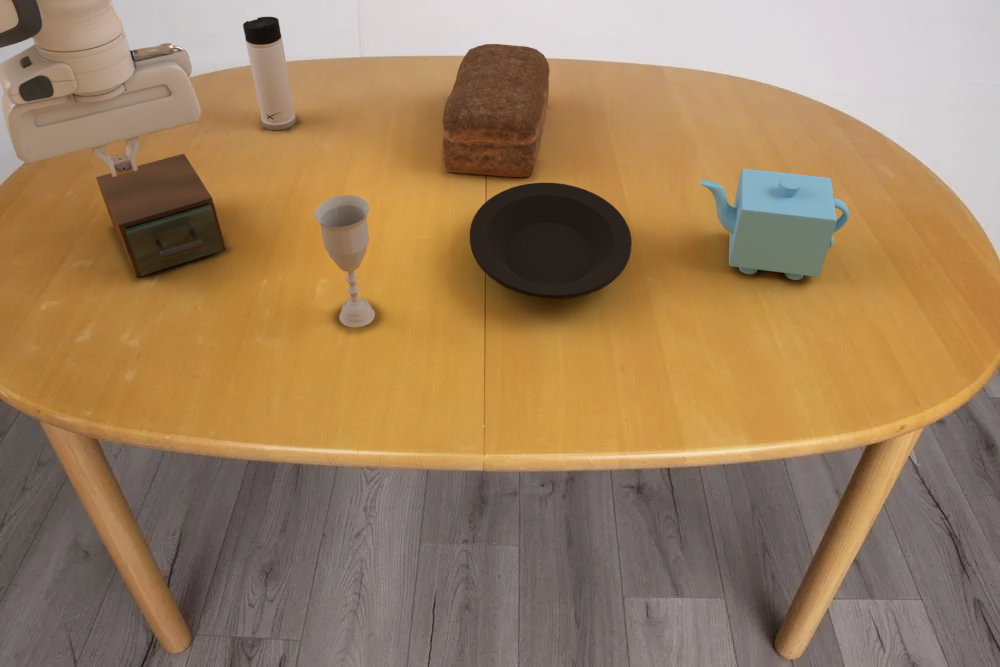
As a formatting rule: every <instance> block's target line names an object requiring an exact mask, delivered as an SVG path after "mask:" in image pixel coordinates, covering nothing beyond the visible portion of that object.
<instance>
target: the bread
mask: <svg viewBox="0 0 1000 667" xmlns="http://www.w3.org/2000/svg"><path fill="white" fill-rule="evenodd" d="M550 71H551V70H550V64H549V61H548V60H547V58H546V56H545V55H544V54H543V53H542V52H541V51H539V50H538V49H536V48H533V47H530V46H526V45H525V46H524V45H514V44H513V45H512V44H503V43H485V44H481V45H477V46H475V47H472V48H470V49H469V50H468V51H467V52H466V54H465V55H464V56H463V57H462V60H461V62H460V63H459V67H458V70H457V73H456V76H455V82H454V83H453V88H452V90H451V92H450V94H449V96H448V97H447V99H446V102H445V105H444V109H443V114H442V126H443V137H442V138H443V139H442V150H441V152H442V163H443V164H444V166H445V169H446V171H447V172H451V173H458V174H469V175H470V174H471V175H483V176H494V177H507V178H526V177H532V175H533V173H534V171H535V167H536V164H537V159H538V154H539V150H540V146H541V141H542V140H541V139H542V135H543V131H544V125H545V122H546V121H545V120H546V114H547V109H548V103H549V97H550V96H549V95H550V94H549V93H550V78H549V77H550Z"/></svg>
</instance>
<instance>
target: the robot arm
mask: <svg viewBox="0 0 1000 667" xmlns="http://www.w3.org/2000/svg"><path fill="white" fill-rule="evenodd" d="M29 39H33V43H34V44H32V45H31V46H29V47H27V48H26V49H24V50H22V51H21V52H19V53H17V54H15V55H14V56H12V57H10V58H8V59H6V60H4V61H2V62H1V63H0V86H1V88H2V90H3V93H2V96H1V108H2V114H3V118H4V122H5V126H6V129H7V133H8V136H9V139H10V143H11V145H12V148H13V151H14V153H15V156H16V159H18V160H20V161H22V162H24V163H25V164H34V163H38V162H42V161H46V160H47V161H48V160H50V159H54V158H59V157H62V156H66V155H70V154H75V153H78V152H82V151H86V150H90V149H91V150H92V152H93V154H94V156H95V157H96V158H97V159H99V160H100V161H101V162H102V163H104V165H106V166H107V167H108V170H109V172H110V173H111V174H112V177H116V176H119V175H123V174H127V173H130V172H134V171H138V168H137V166H138V164H137V162H136V158H137V155H138V152H139V150H140V146H141V141H140V138H139V137H143V136H146V135H150V134H151V135H152V134H155V133H159V132H163V131H167V130H170V129H174V128H179V127H182V126H186V125H191V124H194V123H197V122H198V120H199V119H200V117H201V116H202V115H201V114H202V108H201V105H200V102H199V99H198V96H197V94H196V90H195V88H194V86H193V83H192V82H191V80H190V77H191V74H192V72H193V71H192V70H193V66H192V63H191V60H190V55H189V53H188V52H187V50H186V49H184V48H183V47H182V46H179V45H173V44H172V43H171V42H165V43H161V44H158V45H156V46H147V47H141V48H137V49H130V46H129V42H128V39H127V35H126V32H125V29H124V26H123V23H122V20H121V19H120V17H119V16H118V14H117V12H116V10H115V8H114V5H113V0H0V49H2V48H5V47H9V46H13V45H17V44H19V43H21V42H24V41H27V40H29ZM122 141H125V144H126V148H125V152H124V153H121V154H117V155H113V156H111V155H110V154H108V149H107V147H106V145H110V144H114V143H118V142H122Z"/></svg>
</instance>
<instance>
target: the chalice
mask: <svg viewBox="0 0 1000 667" xmlns="http://www.w3.org/2000/svg"><path fill="white" fill-rule="evenodd" d="M369 211H370V205H369V202H367V201H366V199H364V198H362V197H360V196H356V195H352V194H348V195H347V194H342V195H337V196H333V197H331V198H328V199H325V200H324V201H322V202H321V203H319V205H318V206H317V207H316V208H315V211H314V218H315V220H316V221H317V222H318V223H319V224H320V230H321V236H322V244H323V247H324V249H325V251H326V253H327V254H328V256H329V257H330V258H331V260H332V261H333V262H334V263H335V265H337V267H338V268H339V269H340V270H341V271H343V272H347V277H346V278H345V281H346V282H347V283H348V285H349V286H348V287H347V289H346V291H347V293H348V294H349V295H350V298H348V299H347V300H345V302H344V303H343V304H342V308H341V310H340V313H339V316H338V318H339V322H340V323H341V324H342V325H344V326H345V327H349V328H354V329H355V328H357V329H358V328H362V327H366V326H368V325H369V324H371V323H372V322H373V321H374V319H375V317H376V312H375V310H374V309H373V307H372V306H371V304H369V302H368V300H366V299H365V298H364V297H360V296H359V295H358V294H359V292H360V291H361V288H360V286H359V285H357V281H358V279H359V278H358V276H357V274H356V273H355V271H356V270H357V269H359V268H360V267H361V264H362V263H363V259H364V257H365V255H366V253H367V250H368V245H369V241H370V234H369V228H368V226H369V225H368V219H367V216H368V214H369Z"/></svg>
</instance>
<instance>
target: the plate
mask: <svg viewBox="0 0 1000 667" xmlns="http://www.w3.org/2000/svg"><path fill="white" fill-rule="evenodd" d="M632 245H633V243H632V233H631V230H630V227H629V225H628V222H627V221H626V219H625V218H624V216H623V215H622V214H621V212H620V211H619V210H618V209H617V208H616V207H615V206H614V205H613V204H612V203H610V202H609V201H607V200H606V199H604V198H603V197H601V196H600V195H598V194H595V193H594V192H592V191H589V190H587V189H585V188H581V187H578V186H574V185H572V184H571V185H570V184H565V183H558V182H532V183H531V182H530V183H525V184H520V185H517V186H513V187H510V188H508V189H505V190H503V191H500V192H499V193H497V194H494V195H493V196H492V197H490V198H489V199H487V200H486V201H485V202H484V203H483V204H482V205H481V206H480V207H479V208H478V210H477V211H476V213H475V214H474V216H473V218H472V220H471V223H470V228H469V246H470V249H471V253H472V255H473V258H474V260H475V262H476V264H477V266H479V268H480V269H481V270H482V271H483V272H484V273H485V274H486V276H488V277H489V278H490V279H492V280H493V281H494V282H496V283H497V284H499V285H500V286H502V287H503V288H506V289H508V290H510V291H513V292H515V293H517V294H521V295H524V296H528V297H532V298H538V299H547V300H567V299H574V298H579V297H584V296H586V295H590V294H593V293H595V292H598V291H600V290H601V289H602V290H603V288H606V287H607V286H609V285H610V284H612V283H613V282H614V281H615V280H616V279H618V277H619V276H620V275H621V274H622V273H623V271H624V270H625V269H626V267H627V265H628V263H629V261H630V258H631V253H632Z"/></svg>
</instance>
